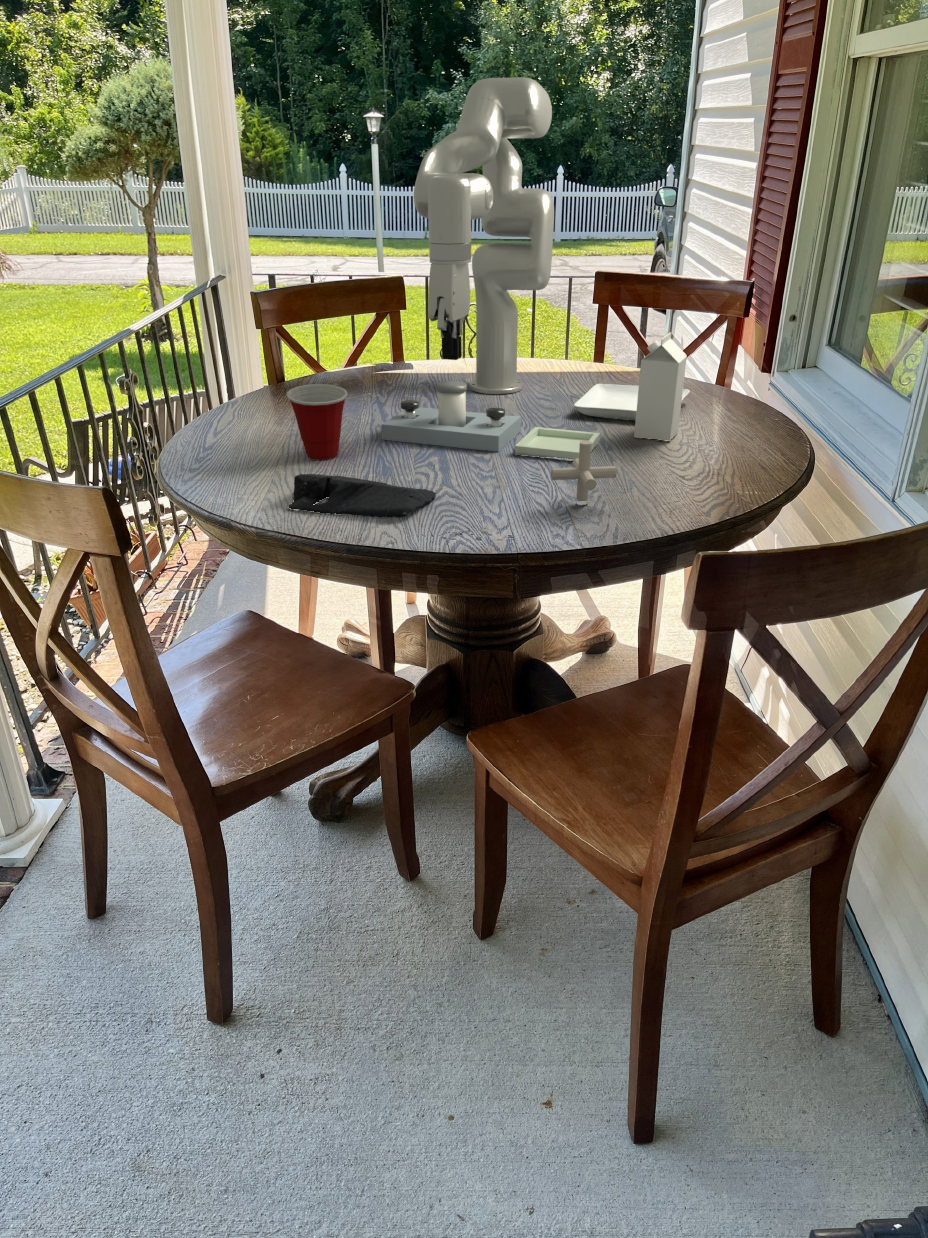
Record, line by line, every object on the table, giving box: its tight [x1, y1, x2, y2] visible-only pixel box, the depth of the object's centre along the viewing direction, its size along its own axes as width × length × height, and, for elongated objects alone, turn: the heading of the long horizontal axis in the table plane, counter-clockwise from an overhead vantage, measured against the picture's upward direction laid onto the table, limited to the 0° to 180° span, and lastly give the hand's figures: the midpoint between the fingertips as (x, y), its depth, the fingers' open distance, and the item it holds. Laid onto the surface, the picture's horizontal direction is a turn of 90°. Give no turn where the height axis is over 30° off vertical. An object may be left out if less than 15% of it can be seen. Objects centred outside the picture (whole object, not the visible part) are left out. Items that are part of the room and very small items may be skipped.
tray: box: [514, 426, 601, 459], centre depth 159 cm, size 13×13×2 cm
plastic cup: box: [286, 383, 349, 461], centre depth 154 cm, size 11×11×12 cm
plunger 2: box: [485, 407, 506, 427], centre depth 163 cm, size 4×4×6 cm
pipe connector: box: [550, 441, 618, 501], centre depth 132 cm, size 10×10×10 cm
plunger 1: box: [400, 399, 420, 419], centre depth 168 cm, size 4×4×6 cm
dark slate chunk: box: [288, 473, 437, 518], centre depth 135 cm, size 15×22×5 cm
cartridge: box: [436, 380, 468, 427], centre depth 165 cm, size 6×6×10 cm
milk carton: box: [633, 331, 688, 441], centre depth 161 cm, size 7×7×19 cm
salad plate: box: [573, 383, 690, 421], centre depth 182 cm, size 21×21×3 cm
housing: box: [381, 406, 522, 452], centre depth 166 cm, size 14×24×3 cm, turn 69°
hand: (451, 357), depth 160 cm, fingers closed
